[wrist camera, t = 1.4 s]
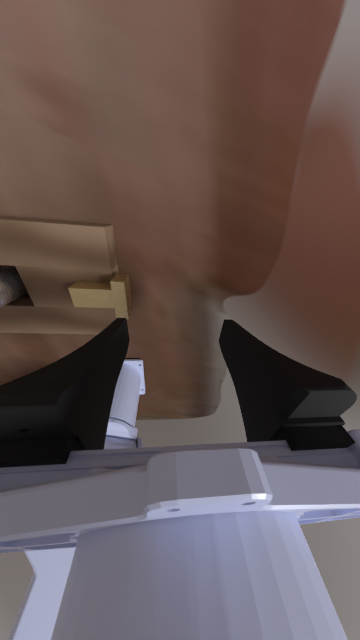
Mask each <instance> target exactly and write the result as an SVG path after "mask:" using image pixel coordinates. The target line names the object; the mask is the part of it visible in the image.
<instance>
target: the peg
mask: <svg viewBox="0 0 360 640" xmlns="http://www.w3.org/2000/svg"><path fill="white" fill-rule="evenodd" d="M27 292H28V291H27V289H26V287H25V285H24V283H23V281H22V279H21V277H20V275H19V273H18V271H17V269H16V267H15V266H6V267H3V268H0V308H1V307H3V306H5V305H6V304H8V303H10V302H11V301H13V300H15V299H17V298H18V297H20V296H22V295H23V294H25V293H27Z"/></svg>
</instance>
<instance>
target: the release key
mask: <svg viewBox="0 0 360 640" xmlns="http://www.w3.org/2000/svg"><path fill="white" fill-rule="evenodd" d="M68 289H69V292H70V295H71V298H72V301H73V304H74V307H87V308H115V313H116V319H117V318H126V319H129V316H130V314H131V311H132V301H131V291H130V281H129V274H117V273H116V275H115V276H114V277H113V278H112V280H111V281H110V283H107V282H86V281H77V282H75V283H74V284H73V285H72V286H70V287H69V288H68Z"/></svg>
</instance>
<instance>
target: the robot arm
mask: <svg viewBox="0 0 360 640" xmlns="http://www.w3.org/2000/svg"><path fill="white" fill-rule="evenodd" d="M219 343H220V348H221V352H222V354H223V357H224V359H225V362H226V364H227V367H228V369H229V372H230V374H231V377H232V380H233V383H234V386H235V389H236V393H237V397H238V400H239V405H240V409H241V413H242V417H243V422H244V426H245V431H246V436H247V442H243V443H222V444H202V445H183V446H164V447H143V444H142V441H141V439H140V438H139V437H136V436H137V429H136V428H134V426H135V421H136V415H137V408H138V402H139V395H140V394H145V382H144V369H143V361H142V360H141V359H125V357H126V354H127V350H128V345H129V334H128V327H127V320H126V318H117V319H115V320H114V321H113V322H112V323H111V324H110V325H109V326H107V327H106V328H105V329H104V330H103V331H101V332H100V333H99V334H98V335H97V336H95V337H94V338H93V339H91V340H90V341H89V342H87V343H86V344H85V345H83V346H82V347H80V348H78V349H77V350H75V351H74V352H72V353H70V354H69V355H67V356H65V357H63V358H61V359H60V360H58V361H56V362H54V363H52V364H50V365H48V366H46V367H44V368H42V369H39V370H37V371H35V372H33V373H30V374H28V375H26V376H23V377H21V378H18V379H16V380H13V381H11V382H8V383H6V384H3V385H1V386H0V553H8V552H21V551H24V552H25V554H26V556H27V558H28V559H29V561H30V563H31V565H32V567H33V570H34V572H33V575H32V578H31V580H30V583H29V586H28V589H27V591H26V593H25V596H24V598H23V601H22V604H21V606H20V609H19V612H18V614H17V617H16V619H15V622H14V625H13V627H12V630H11V632H10V635H9V638H8V640H347V637H346V635H345V633H344V630H343V628H342V625H341V623H340V621H339V618H338V616H337V613H336V611H335V609H334V606H333V604H332V602H331V599H330V597H329V595H328V592H327V590H326V587H325V585H324V582H323V580H322V578H321V575H320V573H319V570H318V568H317V566H316V564H315V561H314V559H313V556H312V554H311V551H310V549H309V546H308V544H307V542H306V539H305V537H304V535H303V532H302V530H301V527H300V524H307V523H316V522H323V521H332V520H340V519H348V518H356V517H360V430H359V429H358V430H351V431H348V432H347V431H346V430H345V429H344V428H343V426H342V425H344V424H345V422H344V421H343V420H342V418H341V417H340V415H341V414H342V413H344V412H345V411H346V410H347V409H349V408H350V407H351V406H352V405H353V404H354V403H355V401H356V399H357V395H356V393H355V392H354V391H353V390H351V388H350V387H349V386H348V385H347V384H346V383H345V382H344V381H342V380H341V379H339V378H336V377H334V376H331V375H328V374H325V373H322V372H320V371H317V370H315V369H312V368H310V367H308V366H305V365H303V364H301V363H299V362H296V361H294V360H292V359H290V358H288V357H286V356H285V355H283V354H281V353H279V352H277V351H276V350H274V349H272V348H270V347H269V346H267V345H266V344H264V343H263V342H261V341H260V340H258V339H257V338H256V337H254V336H253V335H252V334H250V333H249V332H248V331H246V330H245V329H244V328H242V327H241V326H240V325H239V324H237V323H236V322H235V321H233V320H224V322H223V326H222V330H221V334H220V338H219Z"/></svg>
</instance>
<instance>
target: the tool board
mask: <svg viewBox="0 0 360 640" xmlns="http://www.w3.org/2000/svg"><path fill="white" fill-rule="evenodd" d="M0 265H9V266H15V267H16V269H17V271H18V273H19V275H20V277H21V279H22V281H23V283H24V285H25V287H26V289H27V291H28V293H29V295H30V296H23V295H22V296H20V297H18V298H17V299H15V300H13V301H11V302H10V303H8V304H6V305H5V306H3V307H1V308H0V333H46V334H99V333H100V332H101V331H103V330H104V329H105V328H106V327H107V326H109V325H110V324H111V323H112V322H113V321H114V320H115V319H116V313H115V308H87V307H74V304H73V301H72V298H71V295H70V292H69V289H68V288H69V287H70V286H72V285H73V284H74V283H75V282H77V281H86V282H107V283H110V281H111V280H112V278H113V277H114V276H115V275H116V273H117V274H119V270H118V263H117V255H116V248H115V241H114V233H113V226H112V225H105V224H93V223H80V222H67V221H54V220H41V219H29V218H16V217H3V216H0Z"/></svg>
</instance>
